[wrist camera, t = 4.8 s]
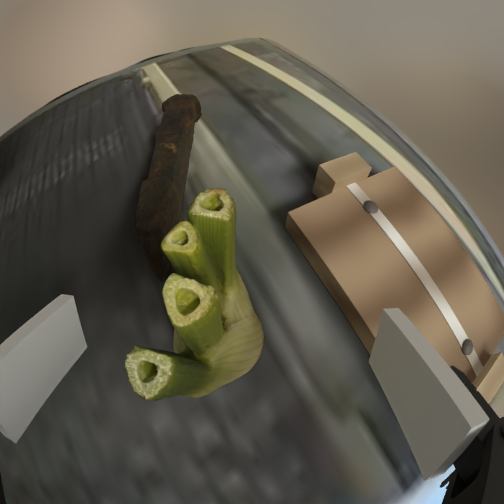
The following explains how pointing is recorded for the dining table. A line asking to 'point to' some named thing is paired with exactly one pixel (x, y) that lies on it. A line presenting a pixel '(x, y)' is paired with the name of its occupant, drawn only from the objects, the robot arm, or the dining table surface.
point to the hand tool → (166, 179)
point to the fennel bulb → (201, 309)
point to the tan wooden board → (399, 266)
